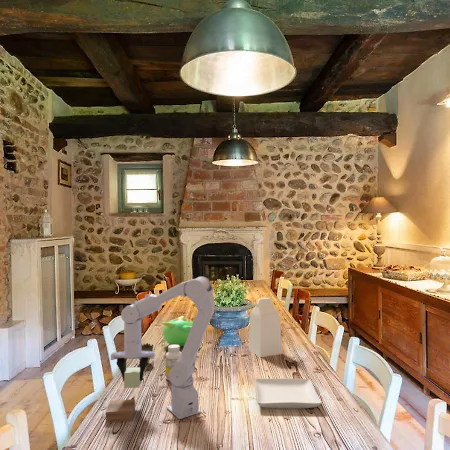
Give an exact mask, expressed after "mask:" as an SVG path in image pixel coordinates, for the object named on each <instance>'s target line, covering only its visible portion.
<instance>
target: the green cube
mask: <svg viewBox="0 0 450 450" xmlns="http://www.w3.org/2000/svg"><path fill="white" fill-rule="evenodd" d="M142 381H143V380H142ZM142 381H140V366H139V367H138V366H137V367H126V371H125V372H124V381H123V388H124V389H135V388H136V389H138V388H140V386H141V385H142Z"/></svg>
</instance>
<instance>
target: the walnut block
mask: <svg viewBox="0 0 450 450" xmlns="http://www.w3.org/2000/svg"><path fill="white" fill-rule="evenodd" d="M135 410H136V399H135V398H134V399H133V398H132V399H119V400H118V399H117V400H110V401H109V403H108V405H107V407H106V411H105V423H116V422H119V423H120V422H132V421H133V419H134V414H135Z"/></svg>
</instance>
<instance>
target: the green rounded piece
mask: <svg viewBox="0 0 450 450" xmlns="http://www.w3.org/2000/svg"><path fill="white" fill-rule="evenodd" d="M193 322H194V320H192V319H189V318H186V317H185V315H181V316H179V317H177V318H174V319H170V320H169V321H163V322H161V323H162V325H164V327H163V328H162V337H163V340H164V342H166V343H168V344H169V345H179V346H180V348H182V347H184V345H185V343H186V340H187V338H188V335H189V332H190V330H191V327H192V325H193Z"/></svg>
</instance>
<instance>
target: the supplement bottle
mask: <svg viewBox="0 0 450 450" xmlns="http://www.w3.org/2000/svg"><path fill="white" fill-rule="evenodd" d="M180 348H181V347H180V346H179V345H170V344H169V345H168V347H167V350H168V352H166V354H165V378H166V380H168V381H170V380H169V372H170V370H171V369H172V368H173V367H174V366H175V364H176V362H177V360H178V358H179V357H180V355H181V353H182V351H180Z"/></svg>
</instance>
